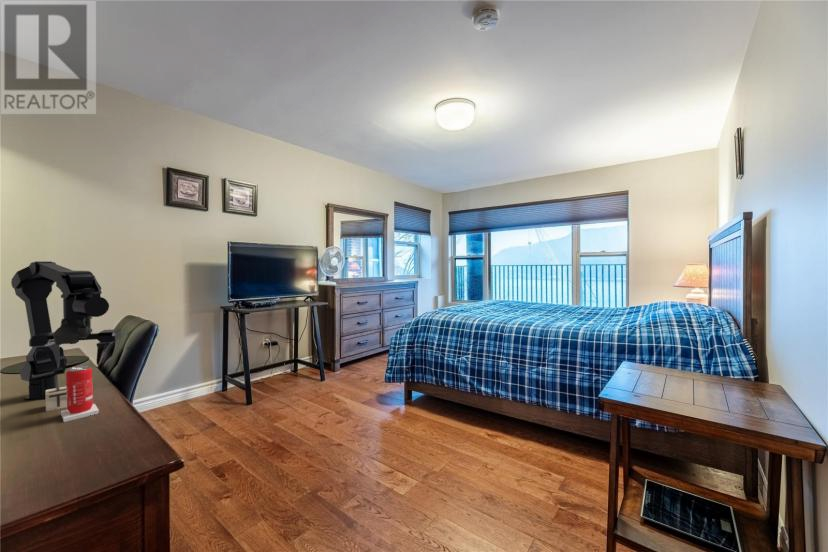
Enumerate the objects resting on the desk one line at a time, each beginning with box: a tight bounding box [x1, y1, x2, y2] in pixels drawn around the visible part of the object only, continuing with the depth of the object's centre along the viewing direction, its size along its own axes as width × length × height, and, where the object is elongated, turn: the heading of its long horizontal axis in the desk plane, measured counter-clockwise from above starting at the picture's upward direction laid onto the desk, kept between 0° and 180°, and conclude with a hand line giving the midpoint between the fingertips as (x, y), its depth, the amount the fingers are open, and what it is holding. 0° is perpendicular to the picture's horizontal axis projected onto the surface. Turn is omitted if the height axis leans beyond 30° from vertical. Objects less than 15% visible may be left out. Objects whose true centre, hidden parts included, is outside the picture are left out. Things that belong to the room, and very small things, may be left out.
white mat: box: [60, 402, 100, 423], centre depth 97 cm, size 7×7×1 cm
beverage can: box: [65, 365, 94, 414], centre depth 97 cm, size 5×5×12 cm
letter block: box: [45, 385, 67, 412], centre depth 103 cm, size 5×5×5 cm
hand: (78, 366), depth 103 cm, fingers open, 9 cm apart
